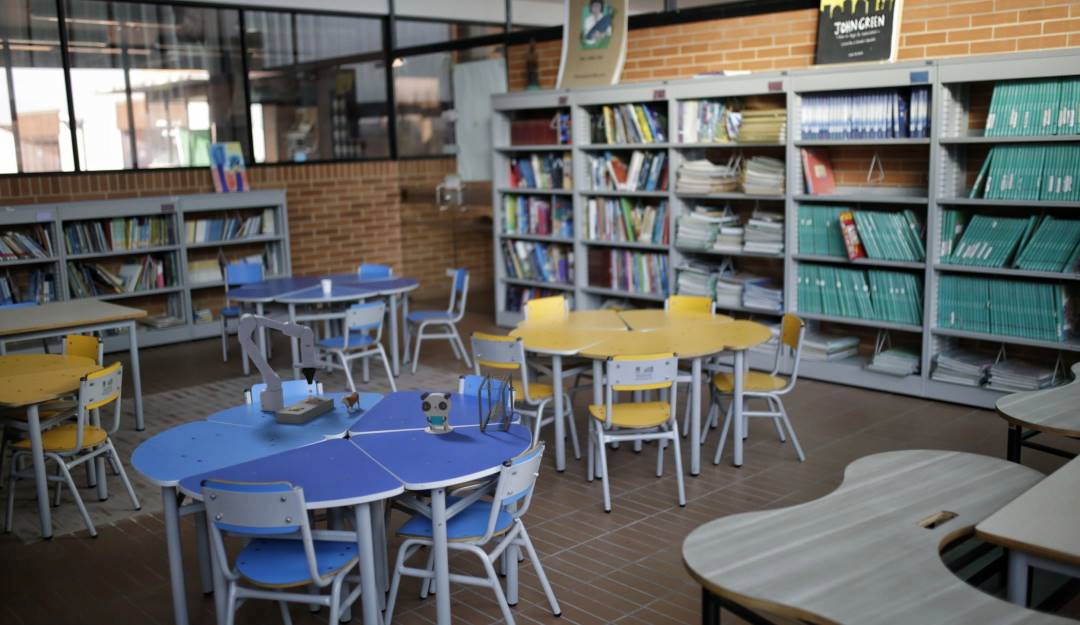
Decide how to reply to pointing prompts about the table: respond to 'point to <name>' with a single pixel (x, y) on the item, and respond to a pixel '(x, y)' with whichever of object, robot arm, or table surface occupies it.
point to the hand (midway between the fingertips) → (310, 384)
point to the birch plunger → (296, 409)
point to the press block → (304, 410)
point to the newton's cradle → (498, 406)
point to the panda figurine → (437, 412)
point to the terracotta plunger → (313, 400)
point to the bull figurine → (350, 400)
